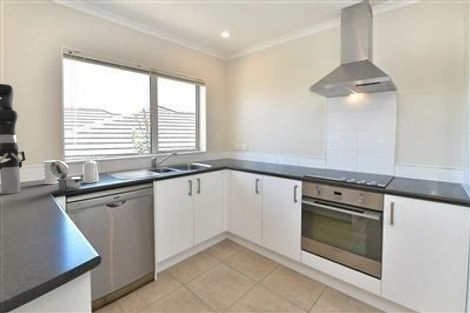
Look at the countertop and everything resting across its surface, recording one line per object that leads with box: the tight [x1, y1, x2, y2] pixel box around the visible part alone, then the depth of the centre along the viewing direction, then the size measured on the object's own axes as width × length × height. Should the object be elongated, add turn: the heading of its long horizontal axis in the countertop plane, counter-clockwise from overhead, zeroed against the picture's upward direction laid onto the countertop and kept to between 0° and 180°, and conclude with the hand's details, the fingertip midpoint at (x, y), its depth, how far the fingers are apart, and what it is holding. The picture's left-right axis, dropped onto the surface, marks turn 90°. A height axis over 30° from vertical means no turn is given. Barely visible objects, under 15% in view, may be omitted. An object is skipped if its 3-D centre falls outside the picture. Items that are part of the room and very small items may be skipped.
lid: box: [50, 160, 70, 179], centre depth 159 cm, size 13×12×2 cm
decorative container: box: [42, 159, 61, 185], centre depth 190 cm, size 12×12×18 cm
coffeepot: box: [82, 159, 100, 184], centre depth 194 cm, size 11×25×19 cm, turn 58°
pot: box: [57, 176, 83, 192], centre depth 168 cm, size 14×16×8 cm
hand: (10, 168), depth 148 cm, fingers open, 8 cm apart
